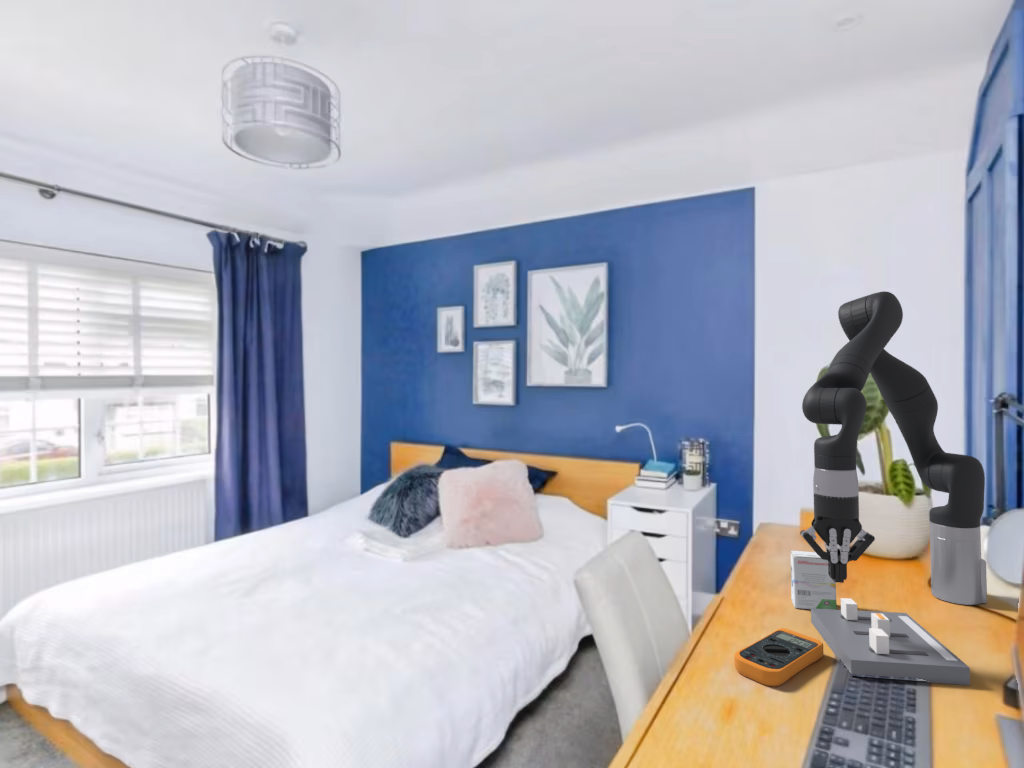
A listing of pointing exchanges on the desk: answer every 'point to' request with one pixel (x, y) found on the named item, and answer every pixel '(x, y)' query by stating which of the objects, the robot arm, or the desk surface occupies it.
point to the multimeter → (778, 657)
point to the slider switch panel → (907, 648)
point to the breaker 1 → (849, 609)
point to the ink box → (811, 582)
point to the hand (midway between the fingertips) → (837, 581)
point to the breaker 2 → (879, 641)
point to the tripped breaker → (880, 622)
